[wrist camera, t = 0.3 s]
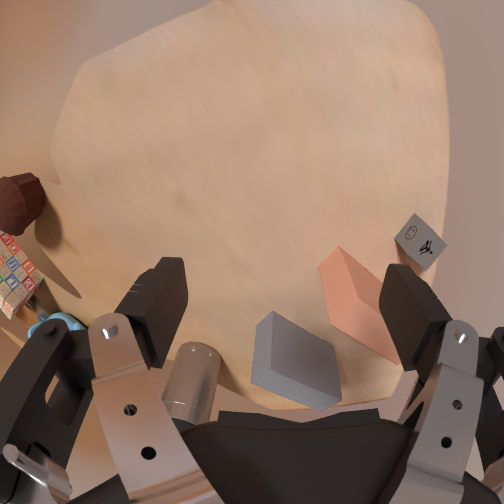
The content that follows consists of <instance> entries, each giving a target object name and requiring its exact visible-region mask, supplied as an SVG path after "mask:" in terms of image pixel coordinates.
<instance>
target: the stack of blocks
mask: <svg viewBox="0 0 504 504" xmlns="http://www.w3.org/2000/svg"><path fill="white" fill-rule="evenodd" d="M43 279H44V278H43V276H42V275H41V274H40V273H39V272H38V270H37V269H36V267H35V266H34V265H33V264H32V263H31V261H30V260H29V259H28V258H27V256H26V255H25V254H24V252H23V251H22V250H21V249H20V248H19V246H18V245H17V244H16V243H15V241H14V240H13V239H12V237H11V236H10V234H7V233H5V232H2V231H1V230H0V308H1V309H2V311H3V312H4V313H5V314H6V316H7V317H8V318H9V319H11V318H12V317H13V316H14V315H15V314H16V312H18V311H19V310H20V309H21V308H22V307H23V305H24V304H25V303H26V302H27V301H28V299H29V298H30V297H31V296H32V295H33V294H34V293H35V292H36V291H37V290H38V288H39V286H40V284H41V282H42V280H43Z"/></svg>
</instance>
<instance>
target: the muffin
mask: <svg viewBox="0 0 504 504" xmlns="http://www.w3.org/2000/svg"><path fill="white" fill-rule="evenodd" d="M44 206H45V201H44V190H43V188H42V186H41V183H40V181H39V178H37V177H35V176H34V175H33V174H32V173H25V174H21V175H16V176H12V177H2V178H0V230H1V231H2V232H5V233H7V234H10V235H14V236H19V235H21V234H23V232H24V230H25V229H26V228H27V227H28V226H29V225H30V224H31V223H32V222H33V221H34V220H35V219H36V218H37V217H38V216H39V215H40V214H41V211H42V209H43V207H44Z"/></svg>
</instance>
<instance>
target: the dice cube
mask: <svg viewBox="0 0 504 504" xmlns="http://www.w3.org/2000/svg"><path fill="white" fill-rule="evenodd" d="M395 240H396V241H397V242H398V243H399V245H400V246H401V247H402V248H403V250H404V251H405V252H406V254H407V255H409V256H410V257H411V258H412V259H413V260H414V261H416V262H417V263H418V264H419V265H420V266H421V267H422V268H423V269H425V270H427V269H428V268H429V266H430V265H431V264H432V263H433V262H434V261H435V259H436V258H437V257H438V256H439V255H440V254H441V252H442V251H443V250H444V249H445V247H446V246H447V245H446V243H445V242H444V241H443V240H442V239H441V238H440V237H439V236H438V235H437V234H436V233H435V232H434V231H433V230H432V229H431V228H430V227H429V226H428V225H427V224H426V223H425V222H424V221H423V220H422V219H421V218H419V217H418V216H417V215H416V214H415V213H414V214H413V215H412V217H411V218H410V219H409V221H408V222H407V223H406V224H405V226H404V227H403V228H402V229H401V231H400V232H399V233H398V234H397V236H396V237H395Z"/></svg>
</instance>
